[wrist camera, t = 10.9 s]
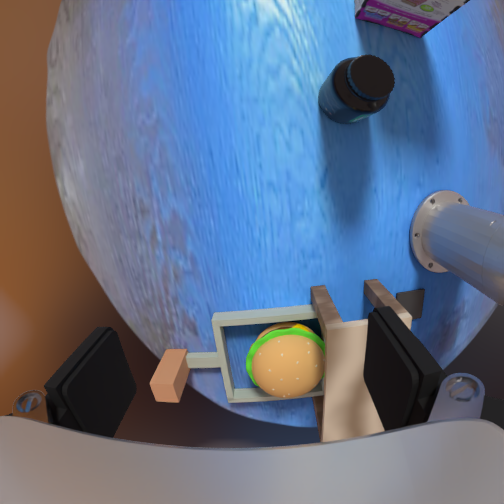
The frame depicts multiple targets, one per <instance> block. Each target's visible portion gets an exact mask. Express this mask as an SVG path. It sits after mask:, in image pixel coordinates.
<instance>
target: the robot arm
mask: <svg viewBox="0 0 504 504" xmlns="http://www.w3.org/2000/svg"><path fill="white" fill-rule="evenodd" d="M430 200H431V202H430ZM415 234H416V235H415ZM410 243H411V248H412V251H413V254H414V256H415V258H416V259H417V261H418V262H419V263H420V264H421V265H422V266H423V267H425V268H426V269H428V270H429V271H432V272H436V273H443V272H447V271H450V272H452V273H453V274H455V275H456V276H458V277H459V278H461V279H462V280H464V281H465V282H467V283H468V284H470V285H471V286H473V287H474V288H476V289H477V290H479V291H480V292H482V293H483V294H485V295H486V296H488V297H489V298H491V299H492V300H494V301H495V302H496V303H498V304H500V305H502V306H504V215H501V214H498V213H494V212H491V211H487V210H483V209H479V208H476V207H472V206H470V205H469V204H468V202H467V201H466V200H465V198H464V197H463V196H461V195H460V194H458V193H456V192H453V191H449V190H440V191H436V192H434V193H432V194H430V195H428V196H427V197H426V198H425V199H424V200H423V201H422V202H421V203H420V205H419V206H418V208H417V210H416V211H415V213H414V216H413V219H412V223H411V227H410ZM363 377H364V382H365V384H366V386H367V389H368V391H369V393H370V396H371V398H372V401H373V403H374V406H375V408H376V410H377V413H378V415H379V418H380V420H381V423H382V425H383V428H384V430H385V431H383V432H378V433H373V434H369V435H364V436H358V437H353V438H347V439H340V440H334V441H327V442H320V443H312V444H303V445H293V446H280V447H263V448H199V447H181V446H169V445H159V444H151V443H143V442H135V441H129V440H122V439H116V438H113V437H114V435H115V433H116V431H117V429H118V426H119V425H120V423H121V421H122V419H123V417H124V415H125V413H126V411H127V409H128V407H129V405H130V403H131V401H132V399H133V397H134V396H135V394H136V383H135V381H134V379H133V376H132V373H131V371H130V368H129V365H128V363H127V360H126V357H125V355H124V352H123V349H122V346H121V343H120V340H119V337H118V334H117V332H116V331H114V330H113V329H112V328H111V327H97V328H96V329H95V330H94V331H93V332H92V333H91V334H90V335H89V336H88V337H87V338H86V339H85V340H84V341H83V343H82V344H81V345H80V346H79V347H78V348H77V349H76V350H75V351H74V352H73V353H72V355H71V356H70V357H69V358H68V359H67V360H66V361H65V362H64V363H63V364H62V366H61V367H60V368H59V369H58V370H57V371H56V372H55V374H54V375H53V376H52V377H51V378H50V379H49V380H48V381H47V383H46V384H45V385H44V387H45V389H46V391H47V393H48V394H47V395H46V396H45V395H44V394H43V393H42V392H41V391H38V390H31V391H27V392H25V393H23V394H21V395H20V396H19V397H18V398H17V399H16V400H15V401H14V403H13V413H11V414H9V415H6V416H0V504H504V400H501V399H497V398H493V397H488V396H484V393H485V390H484V386H483V384H482V382H481V381H480V380H479V379H478V378H476V377H475V376H473V375H470V374H466V373H457V374H452V375H450V376H447V375H446V374H445V372H444V371H443V370H442V368H441V367H440V366H439V365H438V363H437V362H436V361H435V359H434V358H433V357H432V356H431V354H430V353H429V352H428V351H427V349H426V348H425V347H424V345H423V344H422V343H421V342H420V341H419V339H418V338H417V337H415V336H414V334H413V333H412V332H411V331H410V329H409V328H408V327H407V326H406V325H405V323H404V322H403V321H402V320H401V319H400V317H399V316H398V315H397V314H396V313H395V311H394V310H393V309H392V308H391V307H390V306H384V307H378V308H374V310H373V312H371V313H369V315H368V328H367V340H366V351H365V361H364V370H363Z"/></svg>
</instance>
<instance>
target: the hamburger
mask: <svg viewBox="0 0 504 504" xmlns="http://www.w3.org/2000/svg"><path fill="white" fill-rule="evenodd" d="M246 370H247V372H248V374H249V376H250V378H251V380H252V381H253V383H254V384H255V385H257V386H259V387H260V388H261V389H263V390H264V391H265V392H266V393H268V394H270V395H272V396H275V397H280V398H293V397H298V396H301V395H304V394H306V393H308V392H309V391H311V390H312V389H313V388H315V387H316V385H317V384H318V383H319V381H320V380H321V379H322V378H323V377H324V374H325V343H324V342H323V341H322V339H321V338H320V337H319V336H317V335H316V334H315V333H314V332H313V331H312V330H311V329H310V328H308V327H307V326H305V325H302V324H299V323H296V322H282V323H277V324H274V325H272V326H270V327H268V328H267V329H265V330H264V331H263V332H262V333H261V334H260V335H259V336H258V338H257V339H256V341H255V343H253V344H252V345H251V347H250V350H249V353H248V355H247V358H246Z"/></svg>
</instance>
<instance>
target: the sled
mask: <svg viewBox="0 0 504 504" xmlns="http://www.w3.org/2000/svg"><path fill="white" fill-rule="evenodd" d="M313 318H317V315H316V312H315V309H314V306H313V304H309V305H300V306H290V307H279V308H268V309H257V310H244V311H231V312H216V313H214V315H213V318H212V326H213V331H214V336H215V342H216V347H217V352H201V353H188V351H187V349H166V351H165V353H164V355H163V357H162V359H161V361H160V363H159V365H158V367H157V370H156V371H155V374H154V375H153V377H152V379H151V382H150V386H151V389H152V391H153V394H154V396H155V399H156V401H160V402H179V401H180V397H181V395H182V392H183V389H184V386H185V383H186V380H187V377H188V375H189V372H190V369H191V368H217V367H221V371H222V376H223V380H224V385H225V390H226V394H227V399H228V403H236V402H258V401H273V400H285V399H296V398H305V397H313V396H321V395H324V377H323V378H322V379H321V380H320V382H319V383H318V384H317V385H316V387H315V388H313V389H312V390H311V391H309V392H308V393H306V394H304V395H301V396H298V397H293V398H280V397H275V396H272V395H270V394H268V393H266V392H265V391H264V390H263V389H261V388H242V389H235V387H234V382H233V377H232V372H231V367H230V361H229V356H228V350H227V345H226V339H225V334H224V328H223V326H235V325H249V324H262V323H274V322H284V321H294V320H304V319H313ZM321 339H322V341H323V342H324V343H325V338H324V335H323V332H322V329H321Z"/></svg>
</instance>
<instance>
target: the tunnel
mask: <svg viewBox="0 0 504 504" xmlns="http://www.w3.org/2000/svg"><path fill="white" fill-rule="evenodd" d="M364 294H365V295H366V297H367V298H368V299H369V300H370V302H371V303H372V304H373V306H374V307H375V308H378V307H384V306H390V307H391V308H392V309H393V310H394V311H395V313H396V314H397V315H398V316H399V317H400V319H401V320H402V321H403V322H404V323H405V325H406V326H407V327H408V328H409V329H411V322H412V316H411V315H410V314H409V313H408V312H407V310H406V309H405V308H404V307H403V306H402V305H401V304H400V303H399V302H398V301H397V300H396V299H395V298H394V296H393V295H392V294H391V293H390V292H389V291H388V290H387V289H386V288H385V287H384V286H383V285H382V284H381V283H380V282H379V281H378V280H377V279H373V280H365V281H364ZM311 301H312V303H313V306H314V309H315V312H316V315H317V318H318V321H319V324H320V326H321V329H322V332H323V335H324V338H325V374H324V395H321V396H313V397H312V399H313V404H314V409H315V415H316V420H317V426H318V431H319V437H320V442H327V441H334V440H340V439H347V438H353V437H358V436H364V435H369V434H373V433H378V432H383V431H385V430H384V428H383V425H382V423H381V420H380V418H379V415H378V413H377V410H376V408H375V406H374V403H373V401H372V398H371V396H370V393H369V391H368V389H367V386H366V384H365V382H364V377H363V370H364V361H365V351H366V340H367V328H368V319H363V320H357V321H350V322H343V321H342V319H341V317H340V315H339V313H338V311H337V309H336V307H335V305H334V303H333V301H332V299H331V297H330V295H329V293H328V291H327V289H326V287H325V285H322V286H313V287H311Z"/></svg>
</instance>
